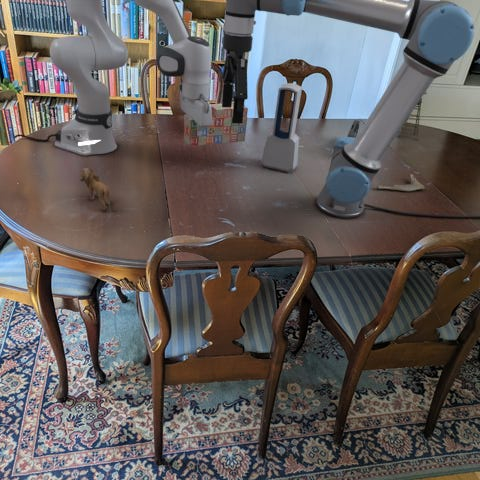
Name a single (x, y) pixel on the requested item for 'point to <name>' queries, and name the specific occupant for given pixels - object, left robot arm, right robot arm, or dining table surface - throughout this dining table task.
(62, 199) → the dining table surface
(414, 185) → the jawbone
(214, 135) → the stack of blocks
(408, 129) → the miniature windmill
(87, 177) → the lion figurine
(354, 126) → the handheld gaming console
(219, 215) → the dining table surface
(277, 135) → the electronic device
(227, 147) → the dining table surface
